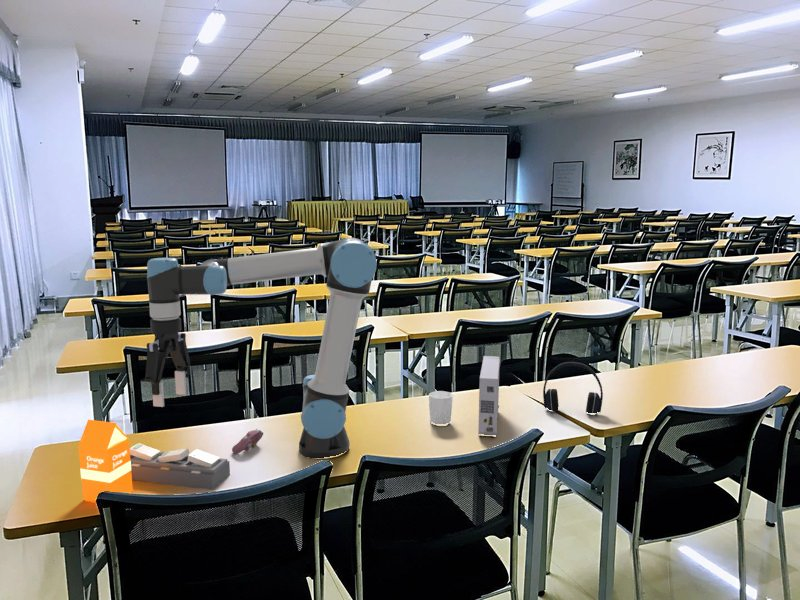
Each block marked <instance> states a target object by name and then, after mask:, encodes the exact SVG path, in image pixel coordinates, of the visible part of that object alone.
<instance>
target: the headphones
mask: <svg viewBox="0 0 800 600" xmlns="http://www.w3.org/2000/svg"><path fill="white" fill-rule="evenodd" d="M568 366H575V367H579V368H583V369H584V370H587V371H588V372H589V373H591V375H593V377H594V378H595V379H596V382H597V384H598V387H599V390H600V395H599V393H598V392H594V391H590V392H588V395H587V401H586V406H585V413H586V412H588V413H597V412H598V413H599V412H600V413H601V411H602V406H603V397H604V393H603V386H602V383H601V381H600V378H599V376H598V375H597V373H596V372H595V370H594V369H592V368H591V367H590V366H588V365H586V364H585V363H582V362H576V361H565V362H564V361H563V362H562V363H559V364H558V365H557V366H555V367H553V369H552V370H551V371H550V372H549V373H548V374H547V376H546V378H545V380H544V384H543V389H542V390H543V391H542V395H543V396H542V397H543V407H545V408H544V409H547V408H548V409H549V410H553V411H556V412H558V411H559V410H558V407H559V396H558V389H557V388H548V389H547V390H546V387H547V383H548V380H549V379H550V377H552V376H551V375H552V374H554V372H556V371H557V370H559V369H561V368H564V367H568ZM548 409H547V410H548ZM549 410H548V411H549ZM598 413H597V414H598Z"/></svg>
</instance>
